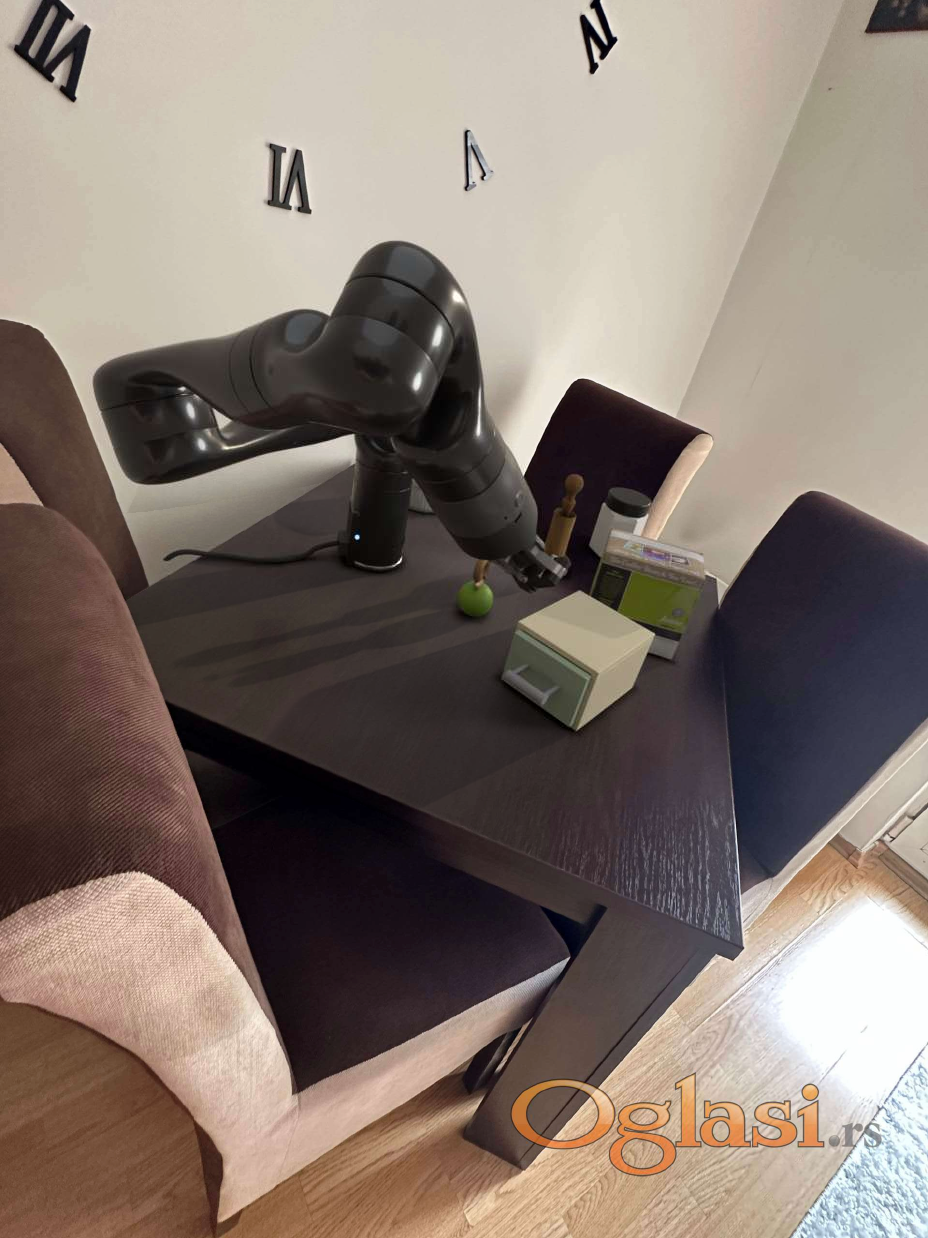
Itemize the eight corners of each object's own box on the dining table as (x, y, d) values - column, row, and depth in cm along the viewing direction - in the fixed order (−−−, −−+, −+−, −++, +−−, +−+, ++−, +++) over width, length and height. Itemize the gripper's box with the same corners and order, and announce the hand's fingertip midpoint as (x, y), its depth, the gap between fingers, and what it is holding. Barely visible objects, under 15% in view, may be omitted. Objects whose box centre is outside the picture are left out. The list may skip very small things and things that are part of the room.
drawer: (549, 742, 79) (567, 693, 75) (480, 691, 84) (493, 643, 80) (622, 686, 91) (641, 642, 87) (557, 645, 96) (572, 601, 92)
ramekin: (382, 506, 127) (386, 472, 123) (398, 482, 138) (403, 451, 134) (447, 522, 126) (454, 489, 122) (459, 497, 137) (465, 466, 133)
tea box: (672, 629, 108) (706, 552, 100) (671, 662, 100) (708, 580, 92) (584, 602, 110) (611, 524, 102) (576, 632, 102) (605, 549, 94)
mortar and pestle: (566, 563, 121) (594, 473, 111) (567, 580, 116) (597, 487, 106) (531, 556, 121) (557, 464, 111) (531, 572, 115) (557, 478, 106)
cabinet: (576, 731, 83) (598, 673, 78) (501, 678, 89) (518, 621, 84) (632, 687, 93) (655, 633, 87) (561, 643, 99) (579, 590, 94)
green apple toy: (495, 607, 104) (512, 541, 97) (483, 627, 98) (500, 558, 92) (463, 596, 104) (478, 530, 98) (449, 615, 99) (464, 546, 93)
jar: (603, 537, 134) (622, 483, 128) (638, 554, 130) (659, 499, 124) (581, 548, 128) (600, 492, 121) (617, 566, 124) (638, 509, 118)
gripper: (394, 498, 54) (463, 583, 70) (515, 568, 48) (562, 645, 63) (447, 429, 55) (504, 528, 70) (573, 489, 49) (606, 584, 64)
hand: (532, 583), depth 67 cm, fingers closed
